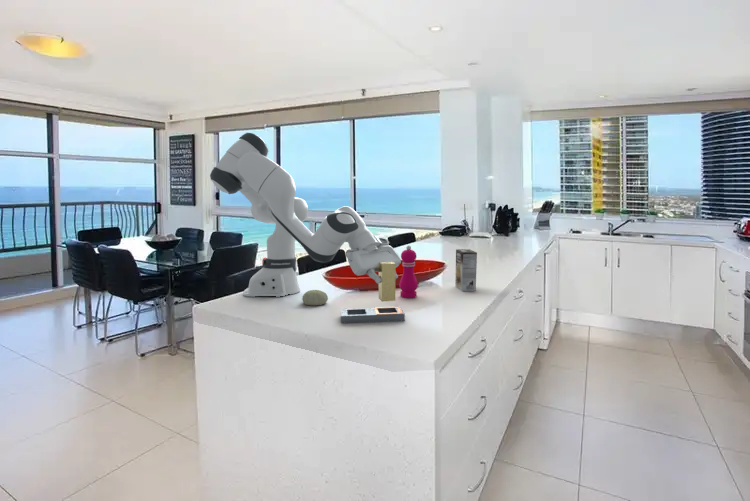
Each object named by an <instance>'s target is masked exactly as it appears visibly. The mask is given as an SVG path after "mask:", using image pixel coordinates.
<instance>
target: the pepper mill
mask: <svg viewBox="0 0 750 501" xmlns="http://www.w3.org/2000/svg"><path fill="white" fill-rule="evenodd" d="M400 259H401V262H402V264H401V265H402V267H403V273H402V276H401V277H400V280H399V285H398V286H399V289H400V290H401V291H400V297H401V298H404V299H413V298H416V297H417V293H418V292H417V291H416V290H417V289H418V288H419V287H418V286H419V285H418V279H417V277H416V274H415V270H414V269H415V266H416V262H415V261H416V259H417V253H416V251H415V250H413V249H412V246H410V245H406V249H404V250H403V251H402V252H401V254H400Z"/></svg>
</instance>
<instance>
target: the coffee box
mask: <svg viewBox="0 0 750 501" xmlns="http://www.w3.org/2000/svg"><path fill="white" fill-rule="evenodd" d="M477 263H478V252H477V251H474V250H472V249H469V248H468V249H466V248H465V249H463V248H461V249H459V248H457V249H455V287H456V288H457V289H458V290H460V291H461V292H474V291H477V270H478V269H477V268H478V267H477V266H478V265H477Z"/></svg>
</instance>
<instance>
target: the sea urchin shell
mask: <svg viewBox="0 0 750 501" xmlns="http://www.w3.org/2000/svg"><path fill="white" fill-rule="evenodd" d="M328 299H329V296H328V294H327V293H326V292H324V291H322V290H319V289H312V290H308V291H305V292H304V294H303V295H302V298H301V300H302V302H303V304H304V305H306V306H323V305H324V304H326V303H327V302H328V301H329V300H328Z"/></svg>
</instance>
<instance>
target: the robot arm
mask: <svg viewBox="0 0 750 501" xmlns="http://www.w3.org/2000/svg"><path fill="white" fill-rule="evenodd" d="M268 146H269V145H267V143H266V142H265V141H264V139H262V137H260V136H259V135H256V134H255V133H253V132H245V133H244V134H242V135H241V136H240V137H238V140H236V142H234V143H233V144H232V145H231V146H230V147H229V148H228V149H227V150H226V151H225V153H224V155H222V157H221V158H220V159H219V161H218V162H217V164H216V166H214V167H213V168H212V170H211V172H210V174H209V177H210V181H211V182H212V183H213V185H214V186H215V187H216V189H218V190H219V191H221V192H223V193H225V194H229V195H233V194H236V193H238V192H239V193H241V194H242V195H243V197H245V198H246V199H247V200H248V201H249V202H250V203H251V207H250V211H251V215H252V217H253V219H255V220H256V221H258V222H262V223H264V224H274V225H275V228H274V231H273V233H272V234H270V235H268V237H267V238H266V254H267V257H264V258H263V259H261V260H262V264H261V265H262V268H261V269H259V270H258V271H257V272H256V273H254V274H253V275H252V277H250V279H249V283H248V287H247V288H246V289H244V290H243V293H242V294H243V296H244V297H255V296H276V297H275V298H281V297H280V296H283V297H285V295H286V296H289V295H288V294H290V295H294V294H297V293H299V292H301V289H300V286H299V281H298V277H297V269H298V268H297V267H298V266H297V265H298V264H297V257H296V246H295V245H296V241H297V242H298V244H299V245H301V247H303V249H304V250H305V252H306V253H307V255H308V256H309V257H310V258H311V259H312V260H313V261H315V262H318V263H329V262H331V261H332V260H334V258H335V256H336V255H337V253H338V252H339V250H340V249H341V248H342V246H343V245H344V244H345V243H348V247H349V249H347V250H345V253H344V255H345V257H346V258H347V262H348V264H349V266H350V269H351V270H352V272H353V273H354V275H356V276H357V277H358V276H365V275H367V276H368V277H370V279H372V280H374V281H375V283H376V284H377V285H379V283H381V282H382V281H383V279H382V278H381V276H379V274H377V273H378V268H379V267H380V264H379V262H389V261H392V262H394V263H395V280H397V279H398V278H399V275H398V274H397V271H396V270H397V269H396V268H398V267H399V266H400V264H401V262H402V259H401V256H400V255H399V254H398V253H397V251H396V249H394V247H392V246H391V245H389V244H390V241H389V240H388V238H384V237H381V236H377V235H374V234H373V232H372V231H371V230H369V229H368V227H367V224H366V223H365V221H364V220H363V218H362V217H361V215H359V213H358V212H357V211H355V209H353V208H352V207H350V206H347V205H346V206H345V205H344V206H341V207H339V208H337V209H336V210H335V211H334V212H330V213H328V214H327V215H326V216H325V218H324V219H323V220H322V222H321V223H320V224H319V226H318V228H317V229H316V230H315V232H312V231H311V230H310V229H309V228H308V227H307V226H306V225H305V224H304V222H305V221H306V219H307V218H308V215H309V207H308V204H307V202H306V200H304V199H303V198H300V197H297V196H296V183H295V180H294V178H293V177H292V175H291V174H290V173H289V172H288V171H287V170H286V169H284V168H283V167H282V166H280V165H279V164H278V163H276V162H275V161H274V160H272V159H270V158H269V157H268V155H269V152H270V151H269V147H268Z"/></svg>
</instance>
